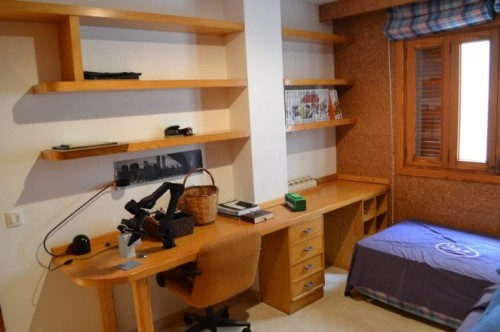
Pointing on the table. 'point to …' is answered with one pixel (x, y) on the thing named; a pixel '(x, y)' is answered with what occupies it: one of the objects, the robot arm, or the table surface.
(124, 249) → the sage pillar
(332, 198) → the table surface
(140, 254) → the cable grommet
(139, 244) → the small box
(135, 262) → the slate mat
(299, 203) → the toy bus
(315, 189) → the table surface
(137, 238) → the robot arm
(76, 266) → the table surface
